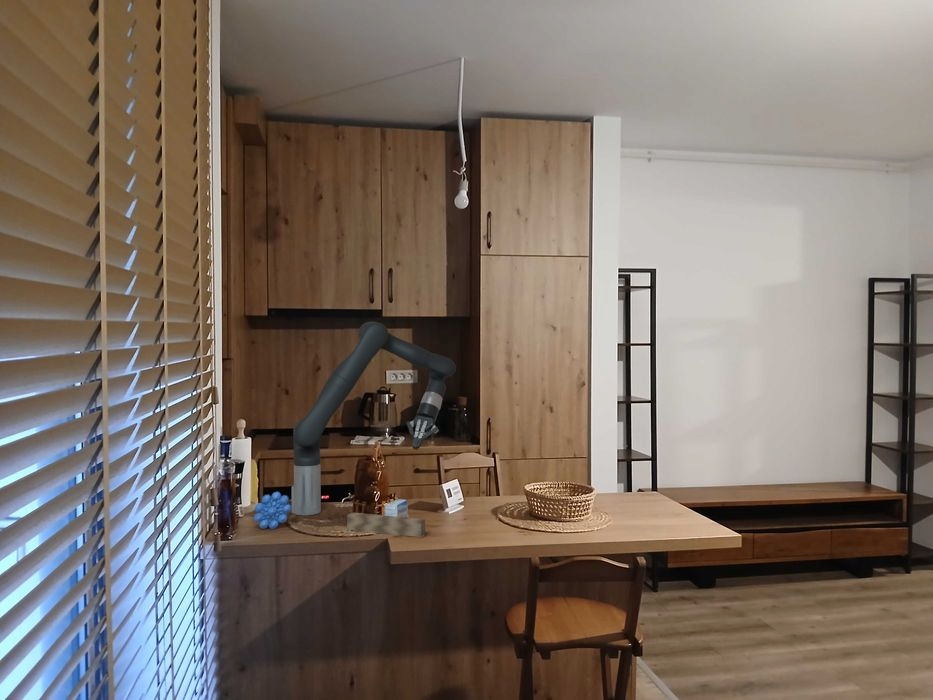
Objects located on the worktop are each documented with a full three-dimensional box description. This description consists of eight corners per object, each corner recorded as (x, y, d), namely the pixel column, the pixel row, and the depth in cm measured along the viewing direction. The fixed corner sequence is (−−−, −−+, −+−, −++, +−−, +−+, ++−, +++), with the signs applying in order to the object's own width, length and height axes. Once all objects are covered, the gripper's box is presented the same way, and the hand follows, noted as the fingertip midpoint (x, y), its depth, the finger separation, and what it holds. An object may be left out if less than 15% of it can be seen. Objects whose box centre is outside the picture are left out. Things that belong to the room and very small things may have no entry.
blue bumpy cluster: (292, 524, 217) (292, 488, 217) (290, 530, 210) (290, 492, 210) (255, 526, 215) (255, 489, 215) (252, 532, 208) (252, 494, 208)
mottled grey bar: (347, 530, 210) (347, 514, 210) (351, 527, 213) (351, 512, 213) (421, 537, 201) (421, 521, 201) (425, 535, 204) (425, 519, 204)
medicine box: (397, 532, 207) (397, 505, 207) (384, 531, 208) (384, 504, 208) (408, 526, 214) (408, 499, 214) (395, 525, 216) (395, 498, 216)
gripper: (411, 398, 244) (395, 441, 236) (444, 405, 240) (429, 448, 232) (416, 407, 250) (401, 449, 243) (448, 414, 246) (434, 456, 238)
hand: (414, 448), depth 237 cm, fingers closed
